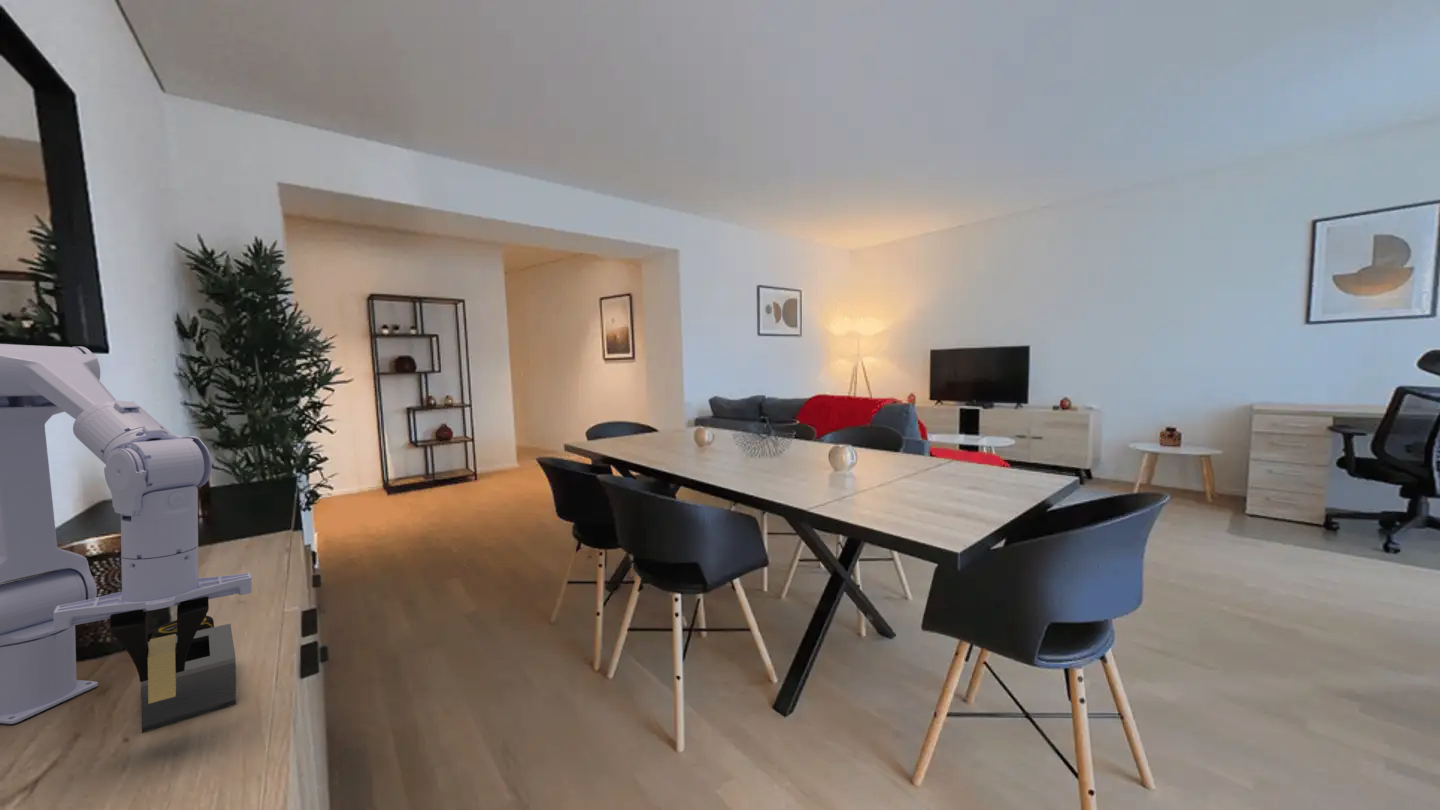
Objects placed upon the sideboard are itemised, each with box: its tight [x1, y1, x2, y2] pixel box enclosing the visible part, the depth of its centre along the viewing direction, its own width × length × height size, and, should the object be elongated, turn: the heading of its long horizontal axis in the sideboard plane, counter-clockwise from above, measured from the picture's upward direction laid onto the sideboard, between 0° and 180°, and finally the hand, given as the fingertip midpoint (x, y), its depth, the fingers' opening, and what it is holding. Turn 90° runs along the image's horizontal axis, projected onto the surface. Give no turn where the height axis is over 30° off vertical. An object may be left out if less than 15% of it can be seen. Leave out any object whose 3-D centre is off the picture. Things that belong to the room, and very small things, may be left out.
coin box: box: [140, 623, 237, 733], centre depth 68 cm, size 12×8×6 cm, turn 45°
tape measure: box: [148, 615, 215, 642], centre depth 79 cm, size 7×7×4 cm
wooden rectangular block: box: [148, 634, 176, 704], centre depth 58 cm, size 5×2×5 cm, turn 45°
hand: (162, 672), depth 58 cm, fingers closed on wooden rectangular block, 2 cm apart
